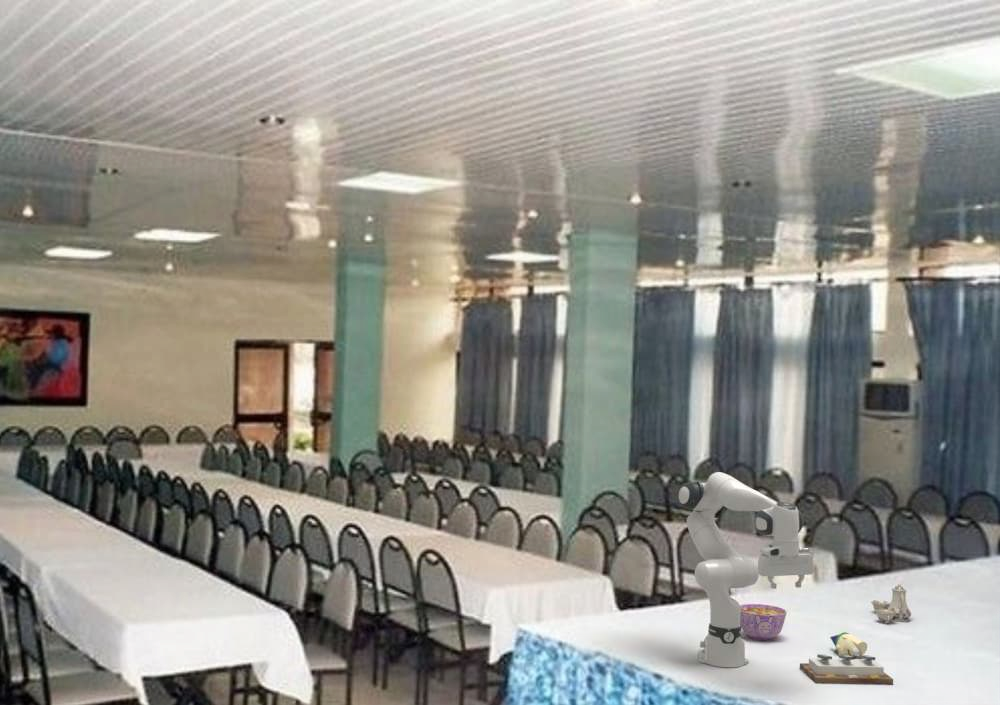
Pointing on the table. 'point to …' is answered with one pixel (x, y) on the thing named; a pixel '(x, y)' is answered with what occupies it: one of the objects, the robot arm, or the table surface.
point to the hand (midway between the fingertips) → (785, 587)
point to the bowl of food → (762, 620)
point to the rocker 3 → (867, 657)
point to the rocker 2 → (846, 657)
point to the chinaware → (893, 607)
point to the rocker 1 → (824, 656)
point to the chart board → (845, 677)
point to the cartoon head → (849, 644)
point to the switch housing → (845, 667)
